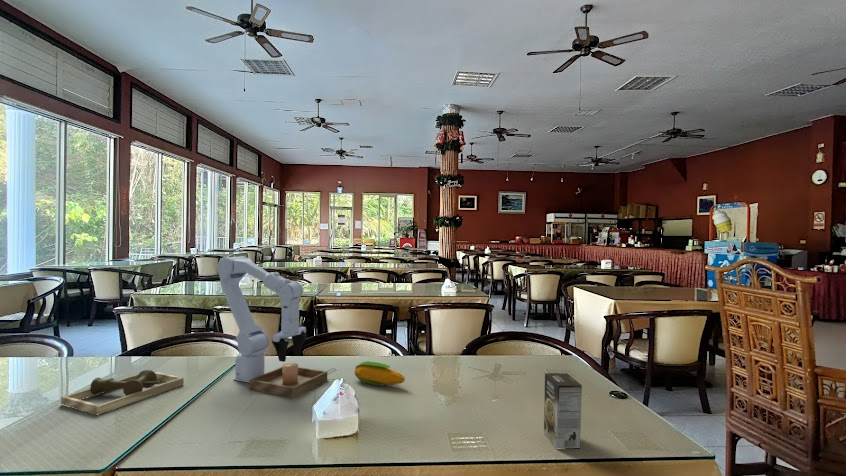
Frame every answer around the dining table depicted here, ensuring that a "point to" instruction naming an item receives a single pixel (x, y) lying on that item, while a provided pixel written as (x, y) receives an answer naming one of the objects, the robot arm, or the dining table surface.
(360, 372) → the corn
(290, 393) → the walnut tray
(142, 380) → the kendama
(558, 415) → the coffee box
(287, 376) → the tan rounded cylinder
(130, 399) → the oak frame
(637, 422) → the dining table surface
